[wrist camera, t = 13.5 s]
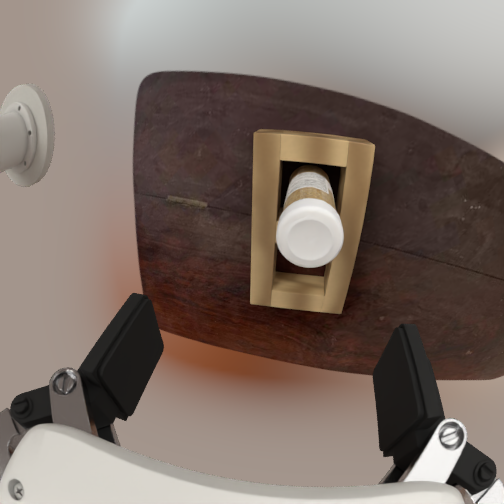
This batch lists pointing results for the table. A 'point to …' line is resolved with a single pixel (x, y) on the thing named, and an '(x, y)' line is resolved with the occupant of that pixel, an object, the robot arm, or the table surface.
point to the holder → (269, 211)
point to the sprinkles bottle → (309, 220)
